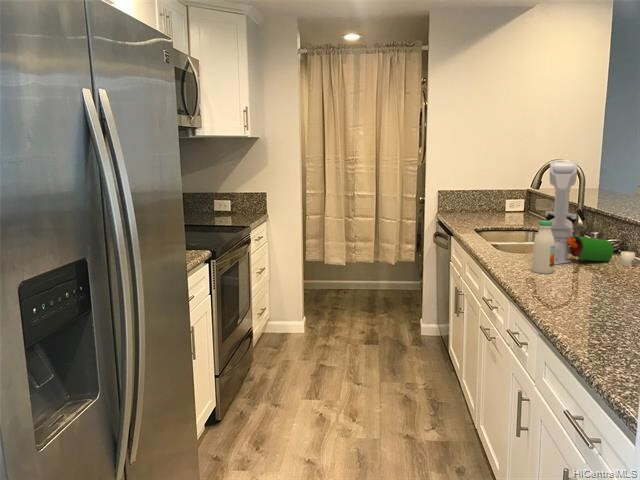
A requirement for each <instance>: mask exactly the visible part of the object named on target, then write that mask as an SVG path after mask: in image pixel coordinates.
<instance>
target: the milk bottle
mask: <svg viewBox="0 0 640 480" xmlns="http://www.w3.org/2000/svg"><path fill="white" fill-rule="evenodd" d="M551 227H552V221H547V220H546V219H545V220H539V222H538V228H539V229H538V231H537V233H536V235H535V237H534V240H533V248H532V261H531V262H532V264H531V266H532V267H531V270H532V272H533V273H535V274H536V273H537V274H543V275H544V274H545V275H546V274H548V275H550V274H552V273H553V272H554V268H555V264H554V255H555V240H554V237H553V235H552V231H551Z"/></svg>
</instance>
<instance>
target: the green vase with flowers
mask: <svg viewBox="0 0 640 480" xmlns="http://www.w3.org/2000/svg"><path fill="white" fill-rule="evenodd" d="M567 243H568V247H569V252H570V254H571V255H572V257H574V258H577V259H579V260H586V261H595V262H602V263H603V262H606V263H608V262H609V261H610V260H611V259H612V257H613V254H614V247H613V244H612V243H611V242H610V241H609V240H607V239H603V238H595V237H587V236H581V235H580V236H578V235H572V237H569V239H568V240H567Z"/></svg>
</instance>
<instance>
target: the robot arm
mask: <svg viewBox="0 0 640 480" xmlns="http://www.w3.org/2000/svg"><path fill="white" fill-rule="evenodd" d="M578 166H579V165H578V162H577V160H575V161H568V160H567V161H564V160H563V161H561V160H560V161H556V160H555V161H553V160H552V161H551V162H550V163H549V184H550V185H551V186H552V187H554V190H555V191H554V203H553V204H554V206H553V207H554V208H553V211H552V210H546V211H545V220H546V221H552V227H551V231H552V235H553V237H554V240H555V255H554V265H561V264H567V263H569V264H570V263H572V260H570V259H568V253H569V252H568V251H569V246H568V243H567V240H568V239H569V237H572V236H573V231H574V229H573V226H574V224H575V223H576V221H577V218H578V217H577V215H578V214H576V213H571V212H569V207H570V206H569V205H570V203H569V202H570V192H571V187H572V186H575V185H576V182H577V176H578Z"/></svg>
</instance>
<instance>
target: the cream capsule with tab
mask: <svg viewBox="0 0 640 480" xmlns="http://www.w3.org/2000/svg"><path fill="white" fill-rule="evenodd" d="M635 256H636V252H634V251H628V250H627V251H625V250H624V251H621V252H620V259H619V264H620V265H622V266H628V265H629V266H628V267H631V266H630V265H634V266H636V265H637V266H638V265H639V262H640V260H637V259H636V257H635Z"/></svg>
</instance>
